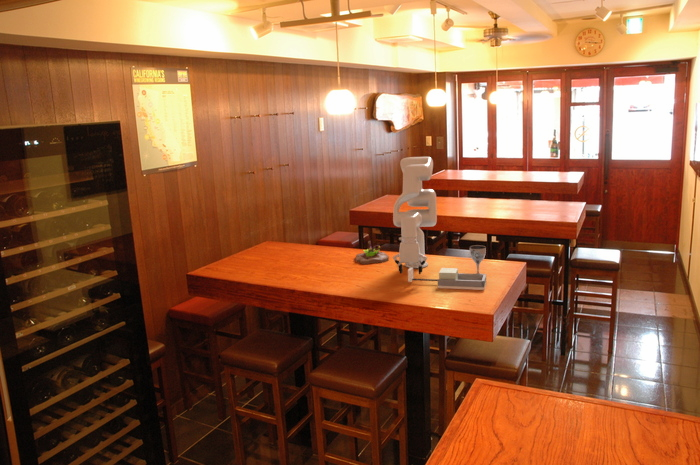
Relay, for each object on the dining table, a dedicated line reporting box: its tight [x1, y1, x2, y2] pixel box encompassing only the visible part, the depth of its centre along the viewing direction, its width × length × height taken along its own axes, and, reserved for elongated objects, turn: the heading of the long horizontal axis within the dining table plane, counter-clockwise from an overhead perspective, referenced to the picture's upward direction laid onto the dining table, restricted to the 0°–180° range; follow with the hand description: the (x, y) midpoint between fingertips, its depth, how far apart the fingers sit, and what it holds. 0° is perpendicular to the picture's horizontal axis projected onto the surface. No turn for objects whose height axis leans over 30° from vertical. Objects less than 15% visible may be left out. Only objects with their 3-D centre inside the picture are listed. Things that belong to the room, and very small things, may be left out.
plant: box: [354, 240, 390, 265], centre depth 334 cm, size 20×20×11 cm
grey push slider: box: [407, 267, 459, 283], centre depth 281 cm, size 24×8×6 cm, turn 72°
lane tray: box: [437, 272, 487, 291], centre depth 277 cm, size 22×12×4 cm, turn 72°
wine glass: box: [469, 244, 487, 274], centre depth 290 cm, size 8×8×15 cm
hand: (410, 273), depth 285 cm, fingers open, 9 cm apart
